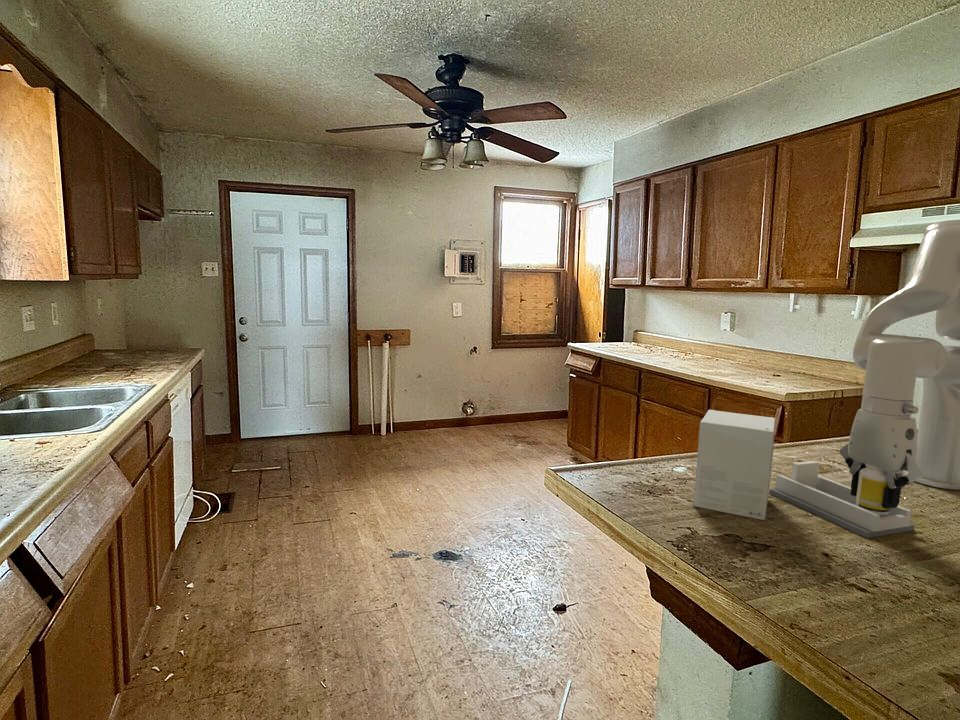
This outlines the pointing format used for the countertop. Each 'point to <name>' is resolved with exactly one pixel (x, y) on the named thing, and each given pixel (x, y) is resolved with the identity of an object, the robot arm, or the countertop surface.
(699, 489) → the supplement box
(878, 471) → the supplement bottle
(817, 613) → the countertop surface
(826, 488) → the lane
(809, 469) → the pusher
